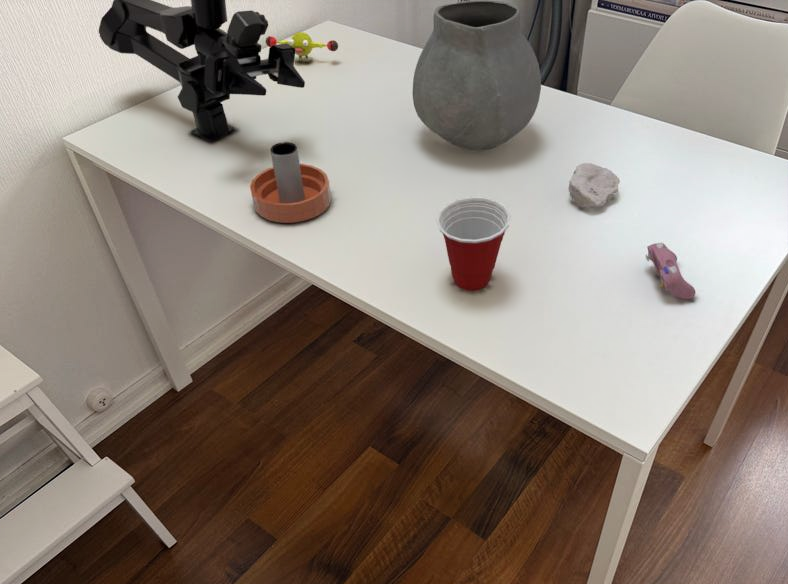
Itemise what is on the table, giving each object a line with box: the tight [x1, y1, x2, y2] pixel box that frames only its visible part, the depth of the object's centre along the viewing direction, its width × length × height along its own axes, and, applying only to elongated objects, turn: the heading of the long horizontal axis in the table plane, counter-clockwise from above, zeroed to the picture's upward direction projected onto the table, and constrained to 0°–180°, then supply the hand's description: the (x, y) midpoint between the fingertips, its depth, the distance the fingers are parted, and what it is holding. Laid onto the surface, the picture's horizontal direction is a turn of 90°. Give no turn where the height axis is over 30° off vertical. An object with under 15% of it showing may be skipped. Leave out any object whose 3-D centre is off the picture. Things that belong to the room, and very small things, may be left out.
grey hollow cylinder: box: [269, 141, 305, 203], centre depth 117 cm, size 4×4×10 cm
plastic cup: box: [435, 196, 512, 292], centre depth 101 cm, size 11×11×12 cm
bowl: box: [249, 163, 332, 224], centre depth 119 cm, size 14×14×4 cm
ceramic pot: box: [411, 0, 542, 151], centre depth 128 cm, size 24×24×25 cm
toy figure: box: [265, 31, 339, 64], centre depth 161 cm, size 18×6×7 cm, turn 81°
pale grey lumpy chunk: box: [568, 162, 621, 209], centre depth 120 cm, size 9×6×10 cm
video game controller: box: [645, 241, 696, 300], centre depth 103 cm, size 10×5×7 cm, turn 5°
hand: (285, 88), depth 116 cm, fingers open, 9 cm apart
